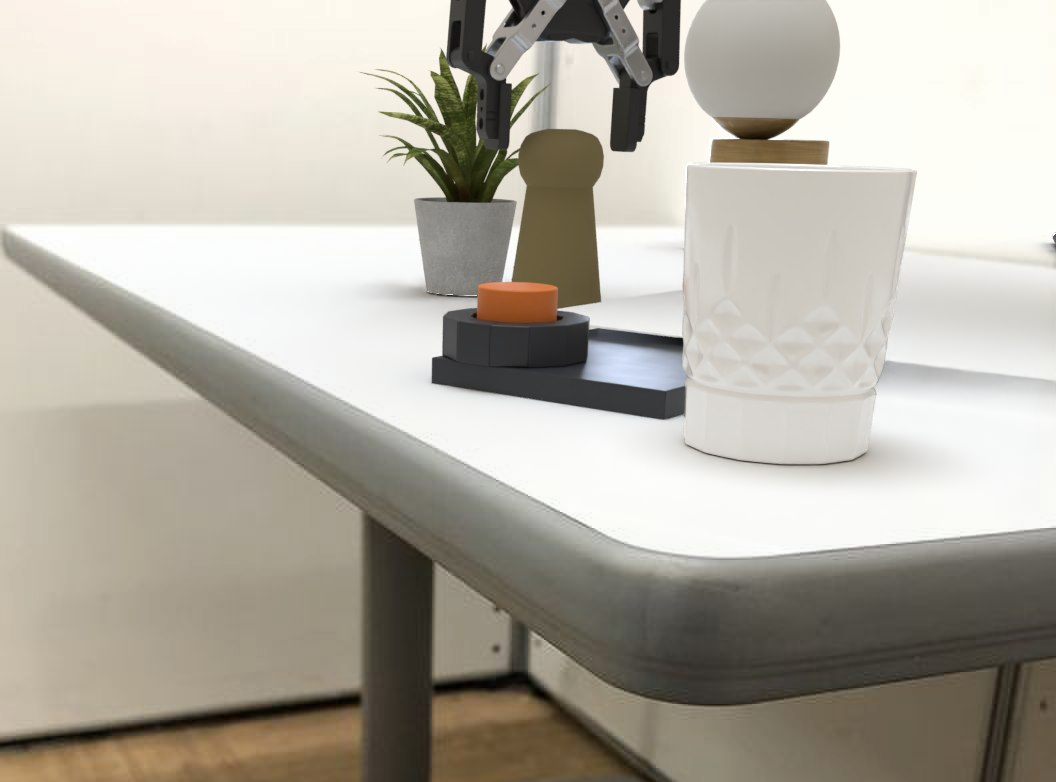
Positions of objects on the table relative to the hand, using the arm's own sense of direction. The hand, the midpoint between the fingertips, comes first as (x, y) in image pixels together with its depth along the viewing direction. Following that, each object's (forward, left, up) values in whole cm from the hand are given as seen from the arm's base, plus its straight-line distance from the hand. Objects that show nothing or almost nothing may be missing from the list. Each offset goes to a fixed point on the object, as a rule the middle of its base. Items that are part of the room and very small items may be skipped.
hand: (560, 150), depth 85 cm
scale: (+18, +16, -10) cm, 26 cm away
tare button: (+22, +13, -7) cm, 27 cm away
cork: (0, 0, -10) cm, 10 cm away
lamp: (-54, -13, -10) cm, 56 cm away
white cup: (+27, +28, -10) cm, 40 cm away
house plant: (-6, -12, -10) cm, 17 cm away
